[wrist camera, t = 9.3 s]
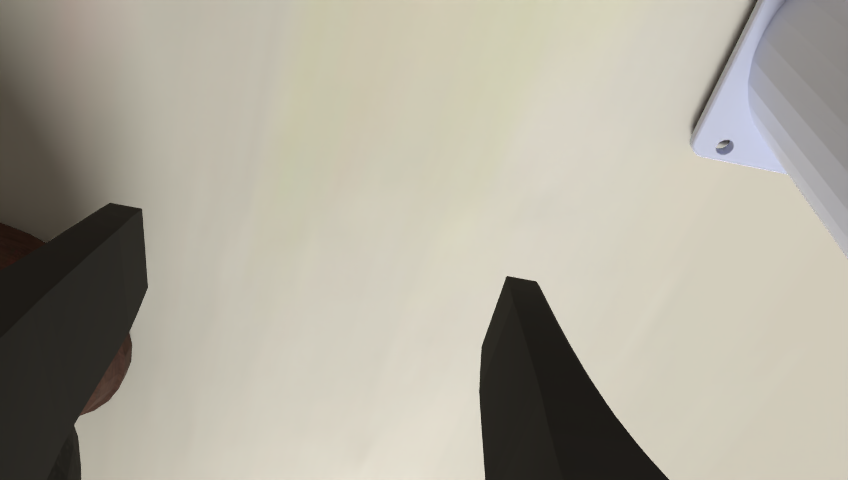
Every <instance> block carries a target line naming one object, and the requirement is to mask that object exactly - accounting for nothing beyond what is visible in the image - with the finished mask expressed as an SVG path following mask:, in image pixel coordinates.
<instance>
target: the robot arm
mask: <svg viewBox="0 0 848 480" xmlns="http://www.w3.org/2000/svg"><path fill="white" fill-rule="evenodd" d="M723 140H730V141H729V143H728V145H727V146H725V147H723V148H716V146H717V145H718V144H719V142H721V141H723ZM690 145H691V147H692V149H693V151H694V152H695V153H696V155H698V156H700V157H704V158H709V159H714V160H719V161H724V162H729V163H733V164H738V165H743V166H748V167H753V168H758V169H763V170H768V171H773V172H778V173H783V174H788V175H789V177H790V178H791V179H792V181H793V182H794V184H795V185H796V187H797V188H798V189H799V191H800V192H801V194H802V195H803V196H804V198H805V199H806V201H807V202H808V204H809V205H810V206H811V208H812V209H813V211H814V212H815V213H816V215H817V216H818V218H819V219H820V220H821V222H822V223H823V225H824V226H825V228H826V229H827V230H828V232H829V233H830V235H831V236H832V237H833V239H834V240H835V242H836V243H837V245H838V246H839V247H840V249H841V250H842V252H843V253H844V254H845V256H846V257H847V259H848V0H758V1H757V3H756V5H755V7H754V9H753V11H752V13H751V15H750V17H749V20H748V22H747V24H746V26H745V28H744V30H743V32H742V34H741V36H740V38H739V40H738V42H737V44H736V46H735V48H734V50H733V52H732V54H731V56H730V58H729V60H728V62H727V64H726V66H725V68H724V70H723V72H722V74H721V76H720V78H719V80H718V82H717V84H716V86H715V88H714V91H713V93H712V95H711V97H710V99H709V101H708V103H707V105H706V107H705V109H704V111H703V113H702V115H701V117H700V119H699V121H698V123H697V125H696V127H695V129H694V131H693V133H692V135H691V138H690ZM147 288H148V283H147V269H146V256H145V243H144V229H143V216H142V209H140V208H135V207H129V206H124V205H118V204H113V203H109V204H107V205H106V206H104V207H102V208H101V209H99V210H98V211H96V212H94V213H93V214H91V215H90V216H88V217H87V218H85V219H83V220H82V221H80V222H79V223H77V224H76V225H74V226H73V227H71V228H69V229H68V230H66V231H65V232H63V233H62V234H60V235H59V236H57V237H55V238H54V239H52V240H51V241H49V242H47V243H46V244H44V245H43V246H41V247H39V248H38V249H36V250H34V251H33V252H31V253H30V254H28V255H26V256H25V257H23V258H21V259H20V260H18V261H16V262H15V263H13V264H11V265H9V266H7V267H6V268H4V269H2V270H0V480H47V478H48V476H49V474H50V472H51V470H52V467H53V465H54V463H55V461H56V459H57V457H58V454H59V452H60V450H61V448H62V446H63V444H64V442H65V440H66V439H67V437H68V435H69V433H70V431H71V429H72V427H73V426H74V424H75V422H76V421H77V419H78V417H79V416H80V414H81V412H82V411H83V409H84V407H85V406H86V404H87V402H88V401H89V399H90V397H91V396H92V394H93V392H94V391H95V389H96V387H97V386H98V384H99V382H100V381H101V379H102V377H103V376H104V374H105V372H106V371H107V369H108V367H109V366H110V364H111V362H112V360H113V359H114V357H115V355H116V354H117V352H118V350H119V349H120V347H121V345H122V343H123V342H124V340H125V338H126V337H127V335H128V333H129V331H130V329H131V327H132V324H133V322H134V320H135V317H136V315H137V313H138V311H139V308H140V306H141V303H142V301H143V298H144V296H145V293H146V291H147ZM479 394H480V410H481V425H482V439H483V453H484V467H485V480H669V479H668V478H667V477H666V476H665V475H664V474H663V473H662V471H661V470H660V469H659V468H658V467H657V466H656V465H655V464H654V463H653V462H652V460H651V459H650V458H649V457H648V456H647V455H646V454H645V452H644V451H643V450H642V449H641V448H640V447H639V445H638V444H637V443H636V442H635V440H634V439H633V438H632V437H631V435H630V434H629V433H628V432H627V430H626V429H625V428H624V426H623V425H622V424H621V423H620V421H619V420H618V419H617V417H616V416H615V415H614V413H613V412H612V411H611V409H610V408H609V406H608V405H607V403H606V402H605V400H604V399H603V397H602V396H601V394H600V393H599V391H598V390H597V388H596V387H595V385H594V384H593V382H592V381H591V379H590V378H589V376H588V374H587V373H586V371H585V370H584V368H583V366H582V364H581V363H580V361H579V359H578V358H577V356H576V354H575V352H574V351H573V349H572V347H571V346H570V344H569V342H568V340H567V338H566V337H565V335H564V333H563V331H562V329H561V327H560V325H559V324H558V322H557V320H556V318H555V316H554V314H553V312H552V310H551V308H550V306H549V304H548V302H547V300H546V298H545V296H544V294H543V292H542V290H541V288H540V286H539V285H538V283H537V282H536V281H531V280H525V279H520V278H514V277H509V276H507V277H506V280H505V282H504V285H503V288H502V291H501V294H500V297H499V299H498V302H497V305H496V308H495V311H494V313H493V316H492V319H491V322H490V325H489V328H488V330H487V333H486V336H485V339H484V342H483V344H482V352H481V368H480V388H479Z"/></svg>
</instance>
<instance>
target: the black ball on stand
mask: <svg viewBox="0 0 848 480" xmlns="http://www.w3.org/2000/svg"><path fill="white" fill-rule="evenodd" d="M44 244H46V243H45V242H43V241H41V240H39V239H37V238H35V237H34V236H32V235H30V234H27V233H25V232H22V231H20V230H17V229H15V228H12V227H10V226H7V225H5V224H2V223H0V270H2V269H4V268H6V267H7V266H9V265H11V264H13V263H15V262H16V261H18V260H20V259H21V258H23V257H25V256H26V255H28V254H30V253H31V252H33V251H34V250H36V249H38V248H39V247H41V246H43V245H44ZM131 353H132V342H131V338H130V334H129V333H128V335H127V337H126V338H125V340H124V342H123V343H122V345H121V347H120V349H119V350H118V352H117V354H116V355H115V357H114V359H113V360H112V362H111V364H110V366H109V367H108V369H107V371H106V372H105V374H104V376H103V377H102V379H101V381H100V382H99V384H98V386H97V387H96V389H95V391H94V392H93V394H92V396H91V397H90V399H89V401H88V402H87V404H86V406H85V407H84V409H83V411H82V412H81V414H80V415H83V414H86V413H88V412H91V411H94V410H95V409H97V408H98V407H100V406H101V405H103V404H105V403H106V402H108V401H109V400H110V398H111V397H112V396H113V395H114V394H115V392H116V391H117V390H118V389H119V387H120V385H121V383H122V381H123V379H124V377H125V375H126V373H127V370H128V368H129V365H130V363H131ZM47 480H81V463H80V453H79V442H78V436H77V433H76V430H75V427H74V426H73V427H72V429H71V431H70V433H69V435H68V437H67V439H66V440H65V442H64V444H63V446H62V448H61V450H60V452H59V454H58V457H57V459H56V461H55V463H54V465H53V467H52V470H51V472H50V474H49V476H48V478H47Z"/></svg>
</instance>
